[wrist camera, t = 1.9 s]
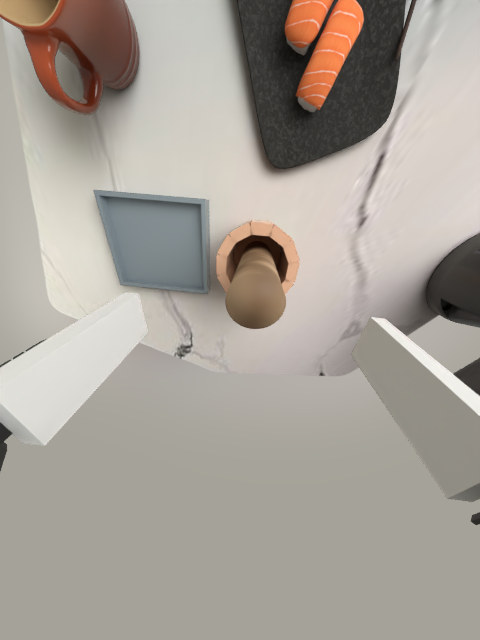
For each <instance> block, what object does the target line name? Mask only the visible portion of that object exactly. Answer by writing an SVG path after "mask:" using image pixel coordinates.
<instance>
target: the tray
mask: <svg viewBox="0 0 480 640" xmlns="http://www.w3.org/2000/svg"><path fill="white" fill-rule="evenodd" d="M94 194H95V197H96V201H97V204H98V208H99V211H100V215H101V218H102V222H103V225H104V229H105V232H106V236H107V239H108V243H109V246H110V250H111V253H112V257H113V260H114V264H115V267H116V271H117V274H118V278H119V281H120V285H128V286H138V287H147V288H157V289H166V290H176V291H185V292H195V293H204V294H208V292H209V290H210V238H209V200H206V199H197V198H185V197H173V196H161V195H149V194H137V193H126V192H114V191H102V190H94Z"/></svg>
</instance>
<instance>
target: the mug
mask: <svg viewBox="0 0 480 640" xmlns="http://www.w3.org/2000/svg"><path fill="white" fill-rule="evenodd" d="M0 17H1V18H3V19H4V20H5V21H7V22H9V23H10V24H12V25H14V26H16V27H17V28H18V29H20V30H21V32H22V33H23V36H24V39H25V42H26V46H27V48H28V51H29V53H30V56H31V59H32V62H33V65H34V68H35V71H36V74H37V76H38V78H39V81H40V83H41V84H42V86H43V88H44V89H45V91H46V92H47V93H48V95H49V96H50V97H51V98H52V99H53V100H54V101H55V102H56V103H58V104H59V105H60V106H62V107H64V108H65V109H67V110H69V111H72V112H74V113H77V114H81V115H92V114H94V113H95V112H96V111H97V110H98V108H99V105H100V101H101V97H102V93H103V85H104V86H107V87H109V88H112V89H124V88H125V87H127V86H128V85H129V84H130V83H131V82H132V80H133V79H134V77H135V75H136V72H137V69H138V64H139V43H138V37H137V32H136V28H135V25H134V22H133V19H132V16H131V14H130V12H129V9H128V7H127V4H126V2H125V0H0ZM58 50H59V51H60V52H62V53H63V54H64V55H65V56H66V57H67V58H68V59H69V60H70V61H72V62H73V63H74V64H75V65H76V66H77V68H78V70H79V72H80V75H81V79H82V83H83V97H82V99H81V100H80V101H75V100H73V99H71V98H70V97H69V96H67V95H66V94H65V92H64V91H63V89H62V88H61V86H60V84H59V81H58V78H57V74H56V69H55V56H56V53H57V51H58Z"/></svg>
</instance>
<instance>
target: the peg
mask: <svg viewBox="0 0 480 640" xmlns="http://www.w3.org/2000/svg"><path fill="white" fill-rule="evenodd" d="M285 305H286V297H285V293H284V290H283V287H282V284H281V281H280V278H279V275H278V272H277V269H276V266H275V263H274V260H273V257H272V254H271V251H270V248H269V247H268V245H267V244H265V243H264V242H262V241H253V242H251V243H249V244H248V245H247V246H246V248H245V249H244V252H243V254H242V257H241V259H240V262H239V264H238V267H237V269H236V272H235V274H234V277H233V279H232V282H231V284H230V287H229V289H228V292H227V295H226V308H227V311H228V313H229V315H230V317H231V318H232V319H233V320H234V321H235V322H236V323H238V324H239V325H241V326H243V327H246V328H251V329H260V328H265V327H268V326H270V325H272V324H274V323H275V322H276V321H277V320H278V319H279V318H280V317H281V316H282V314H283V312H284V309H285Z"/></svg>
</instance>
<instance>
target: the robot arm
mask: <svg viewBox="0 0 480 640" xmlns="http://www.w3.org/2000/svg"><path fill="white" fill-rule="evenodd" d="M426 297H427V302H428V305H429V306H430V308H431V309H432V310H433V311H434V312H435V313H437V314H439V315H441V316H443V317H444V318H446V319H449V320H450V321H453V322H456V323H461V324H466V325H470V326H475V327H480V234H478V235H476V236H474V237H472V238H471V239H469V240H468V241H466V242H464V243H463V244H462V245H460V246H459V247H458V248H456V249H455V250H454V251H453V252H452V253H450V254H449V255H448V256H447V257H446V258H445V259H444V260H443V261H442V263H441V264H440V265H439V266H438V268H437V269H436V270H435V272H434V273H433V275H432V277H431V279H430V281H429V284H428V287H427V293H426ZM147 333H148V330H147V326H146V322H145V317H144V313H143V309H142V305H141V301H140V296H139V293H131V292H125V293H123V294H122V295H120V296H118V297H117V298H115V299H113V300H112V301H110V302H108V303H107V304H105V305H103V306H102V307H100V308H98V309H97V310H95V311H93V312H92V313H90V314H88V315H87V316H85V317H83V318H82V319H80V320H78V321H77V322H75V323H73V324H72V325H70V326H68V327H67V328H65V329H63V330H62V331H60V332H58V333H57V334H55V335H53V336H52V337H50V338H48V339H46V340H43V341H41V342H39V343H38V344H36V345H34V346H32V347H31V348H29V349H27V350H26V352H22V353H21V354H19V355H17V356H15V357H14V358H13V360H9V361H7V362H5V363H4V364H2V365H0V471H1V467H2V464H3V461H4V458H5V455H6V452H7V444H6V443H4V441H5V440H6V439H7V438H8V437H9V436H10V435H11V434H13V435H14V436H16V437H17V438H18V439H19V440H20V441H21V442H22V443H27V444H35V445H43V446H45V445H46V444H47V443H48V442H49V441H50V439H51V438H52V437H53V436H54V435H55V434H56V433H57V432H58V431H59V430H60V428H61V427H62V426H63V425H64V424H65V423H66V422H67V421H68V420H69V419H70V418H71V416H72V415H73V414H74V413H75V412H76V411H77V410H78V409H79V408H80V407H81V405H82V404H83V403H84V402H85V401H86V400H87V399H88V398H89V397H90V396H91V394H92V393H93V392H94V391H95V390H96V389H97V388H98V387H99V386H100V384H101V383H102V382H103V381H104V380H105V379H106V378H107V377H108V376H109V375H110V374H111V373H112V371H113V370H114V369H115V368H116V367H117V366H118V365H119V364H120V362H122V360H123V359H124V358H125V357H126V356H127V355H128V354H129V353H130V352H131V351H132V350H133V348H134V347H135V346H136V345H137V344H138V343H139V342H140V341H141V340H142V339H143V337H144V336H145V335H146V334H147ZM351 356H352V357H353V358H354V360H355V361H356V363H357V364H358V366H359V367H360V369H361V370H362V372H363V373H364V375H365V376H366V378H367V379H368V381H369V382H370V384H371V385H372V387H373V388H374V390H375V391H376V393H377V394H378V396H379V397H380V399H381V400H382V402H383V403H384V405H385V406H386V408H387V409H388V411H389V412H390V414H391V415H392V417H393V418H394V420H395V421H396V423H397V424H398V426H399V427H400V429H401V430H402V432H403V433H404V435H405V436H406V438H407V439H408V441H409V442H410V444H411V445H412V447H413V448H414V450H415V451H416V453H417V454H418V456H419V457H420V459H421V460H422V462H423V463H424V464H425V466H426V468H427V469H428V470H429V472H430V474H431V475H432V477H433V478H434V480H435V481H436V483H437V484H438V486H439V487H440V489H441V490H442V491H443V493H444V495H445V496H446V498H447V499H455V500H462V501H469V502H473V501H476V500H478V499H480V358H479V359H477V360H475V361H474V362H472V363H471V364H469V365H467V366H465V367H464V368H462V369H460V370H459V371H457V372H455V373H454V374H452V373H451V372H449V371H448V370H447V369H446V368H445V367H443V366H442V365H441V364H440V363H438V362H437V361H436V360H435V359H434V358H432V357H431V356H430V355H429V354H428V353H426V352H425V351H424V350H423V349H421V348H420V347H419V346H418V345H417V344H415V343H414V342H413V341H411V340H410V339H409V338H408V337H407V336H406V335H404V334H403V333H402V332H401V331H399V330H398V329H397V328H396V327H395V326H393V325H392V324H391V323H390V322H388V321H387V320H386V319H385V318H375V317H370V319H369V321H368V323H367V325H366V327H365V329H364V331H363V333H362V334H361V336H360V338H359V340H358V342H357V344H356V346H355V348H354V349H353V351H352V353H351ZM471 522H472V523H474V524H475V525H478V524H480V513H477V514H474V515H472V518H471Z"/></svg>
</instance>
